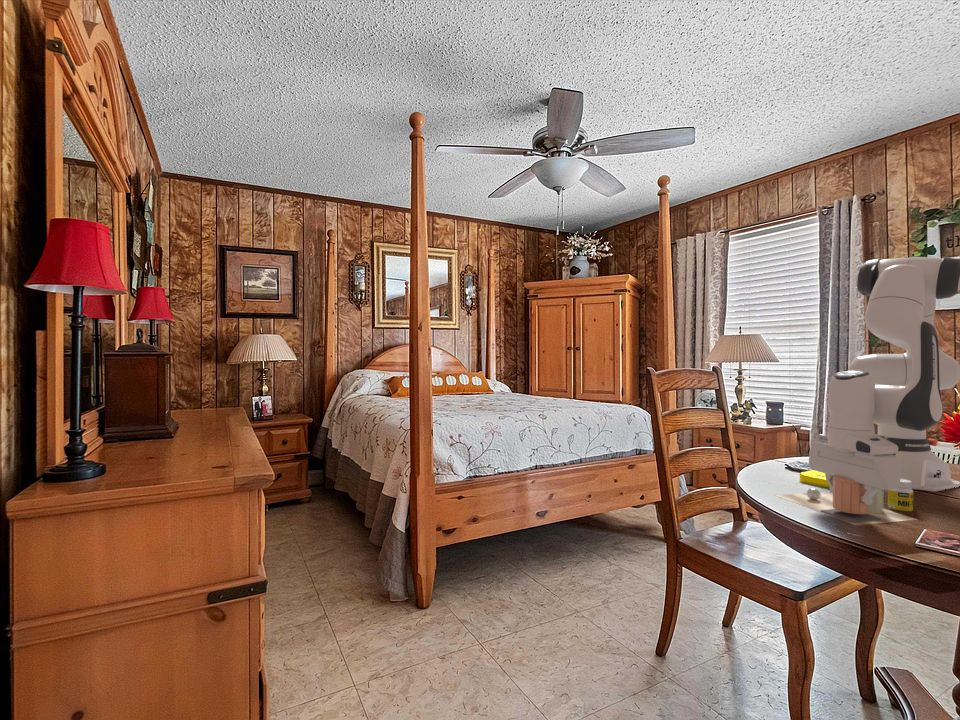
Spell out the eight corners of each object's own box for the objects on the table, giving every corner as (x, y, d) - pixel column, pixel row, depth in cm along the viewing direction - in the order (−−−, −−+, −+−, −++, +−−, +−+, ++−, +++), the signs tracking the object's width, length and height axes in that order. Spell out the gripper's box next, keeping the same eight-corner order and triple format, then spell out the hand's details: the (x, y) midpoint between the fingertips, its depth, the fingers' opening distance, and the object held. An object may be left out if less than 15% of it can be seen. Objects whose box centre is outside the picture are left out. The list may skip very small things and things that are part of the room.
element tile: (796, 487, 146) (796, 471, 146) (824, 480, 153) (824, 465, 153) (853, 500, 133) (854, 483, 133) (881, 492, 140) (881, 476, 140)
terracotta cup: (848, 504, 119) (848, 473, 119) (874, 512, 113) (874, 480, 113) (826, 506, 118) (826, 475, 118) (851, 514, 112) (851, 482, 112)
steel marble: (813, 497, 130) (813, 486, 129) (823, 501, 127) (823, 489, 127) (803, 498, 129) (803, 487, 129) (813, 502, 126) (813, 490, 126)
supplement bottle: (897, 517, 119) (898, 482, 118) (882, 510, 123) (882, 477, 123) (918, 517, 118) (918, 482, 118) (902, 510, 123) (902, 477, 123)
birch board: (828, 496, 135) (828, 491, 135) (917, 526, 113) (917, 519, 113) (775, 500, 132) (775, 495, 132) (856, 531, 109) (856, 525, 109)
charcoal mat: (848, 509, 120) (848, 507, 120) (880, 520, 112) (880, 518, 112) (820, 511, 119) (820, 510, 119) (851, 522, 111) (851, 521, 111)
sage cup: (864, 504, 124) (864, 474, 124) (889, 512, 118) (890, 481, 117) (843, 506, 123) (843, 476, 122) (867, 514, 116) (868, 482, 116)
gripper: (802, 433, 125) (801, 487, 125) (882, 449, 105) (881, 513, 105) (823, 432, 126) (822, 485, 126) (906, 447, 106) (905, 511, 106)
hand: (850, 498), depth 116 cm, fingers closed on terracotta cup, 6 cm apart
